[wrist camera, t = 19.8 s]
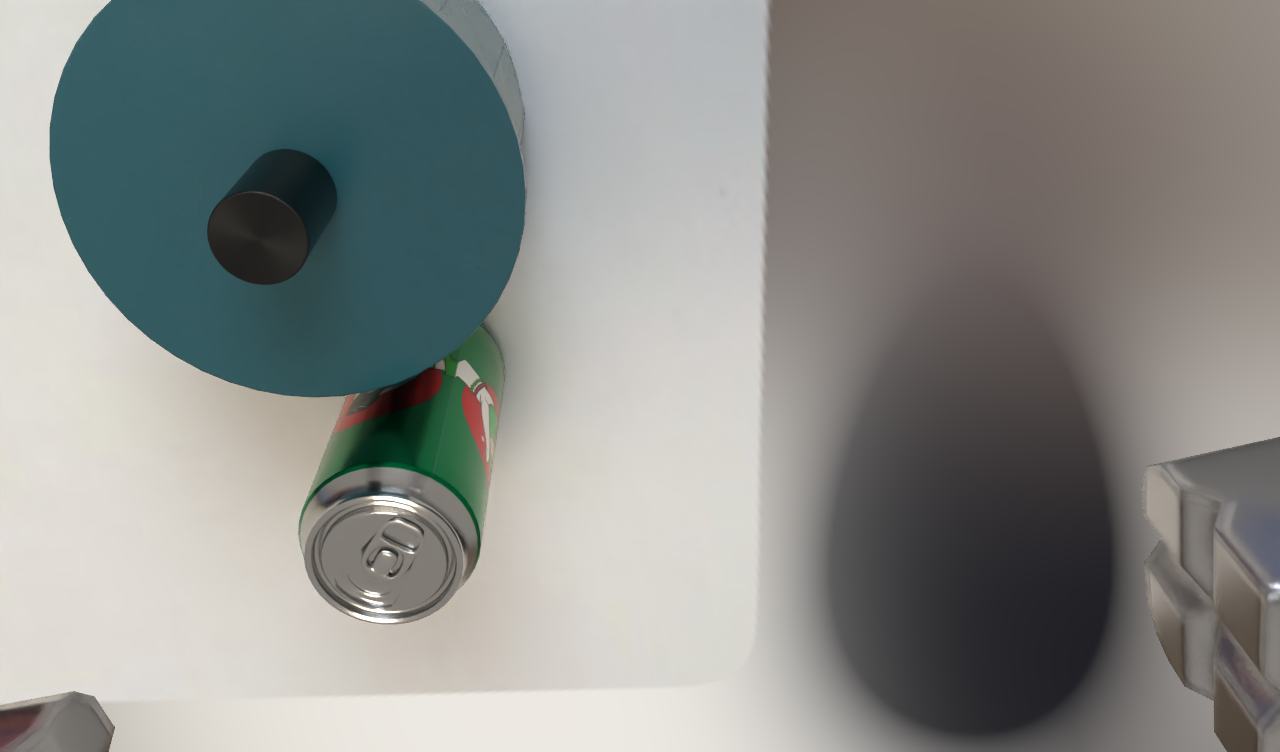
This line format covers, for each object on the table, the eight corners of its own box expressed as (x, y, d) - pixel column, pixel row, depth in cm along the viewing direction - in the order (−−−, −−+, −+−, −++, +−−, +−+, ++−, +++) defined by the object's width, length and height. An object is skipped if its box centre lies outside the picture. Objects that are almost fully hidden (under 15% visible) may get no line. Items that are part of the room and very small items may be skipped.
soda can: (341, 384, 43) (258, 588, 32) (406, 275, 41) (340, 452, 30) (463, 447, 44) (422, 662, 33) (531, 344, 42) (511, 536, 32)
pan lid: (450, -115, 29) (426, -97, 25) (577, 329, 34) (574, 404, 30) (-20, 6, 30) (-118, 44, 26) (178, 419, 35) (124, 504, 31)
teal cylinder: (464, -113, 35) (433, -86, 28) (561, 234, 40) (555, 326, 34) (107, -21, 36) (-3, 26, 29) (248, 308, 41) (181, 411, 34)
